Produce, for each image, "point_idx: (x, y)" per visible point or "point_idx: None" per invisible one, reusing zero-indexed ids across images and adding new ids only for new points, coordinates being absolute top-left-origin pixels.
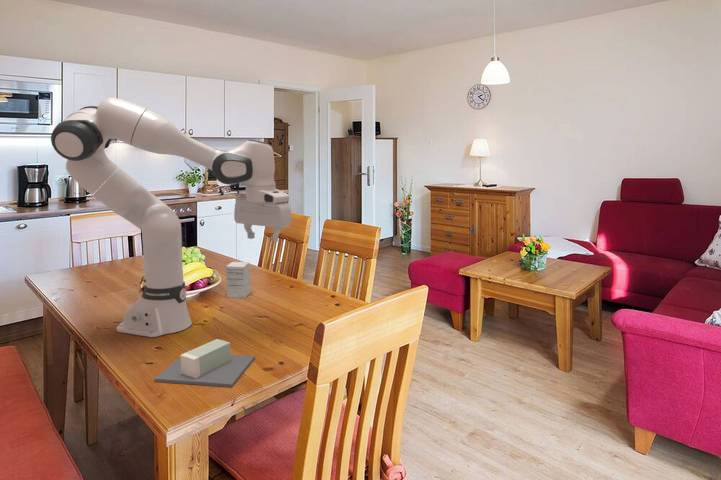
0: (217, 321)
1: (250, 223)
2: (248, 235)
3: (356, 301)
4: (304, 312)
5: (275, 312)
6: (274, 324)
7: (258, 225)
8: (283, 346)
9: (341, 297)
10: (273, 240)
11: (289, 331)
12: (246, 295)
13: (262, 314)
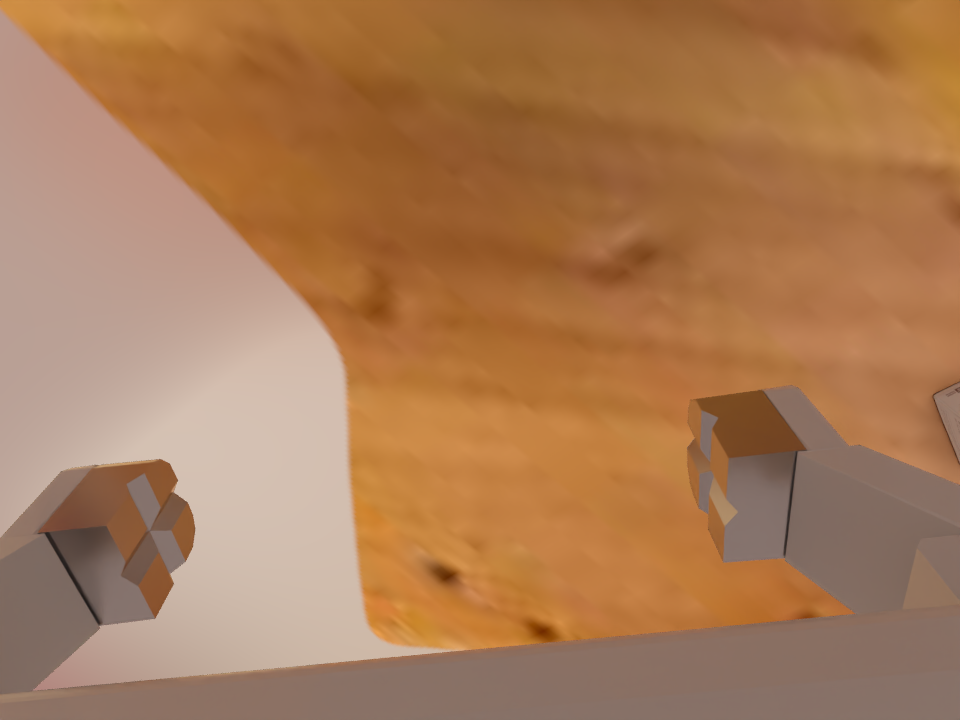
0: (817, 29)
1: (759, 650)
2: (782, 416)
3: (408, 638)
4: (491, 428)
5: (617, 345)
6: (485, 222)
7: (371, 662)
8: (184, 25)
9: (499, 640)
10: (75, 472)
11: (341, 203)
12: (942, 414)
13: (656, 283)
